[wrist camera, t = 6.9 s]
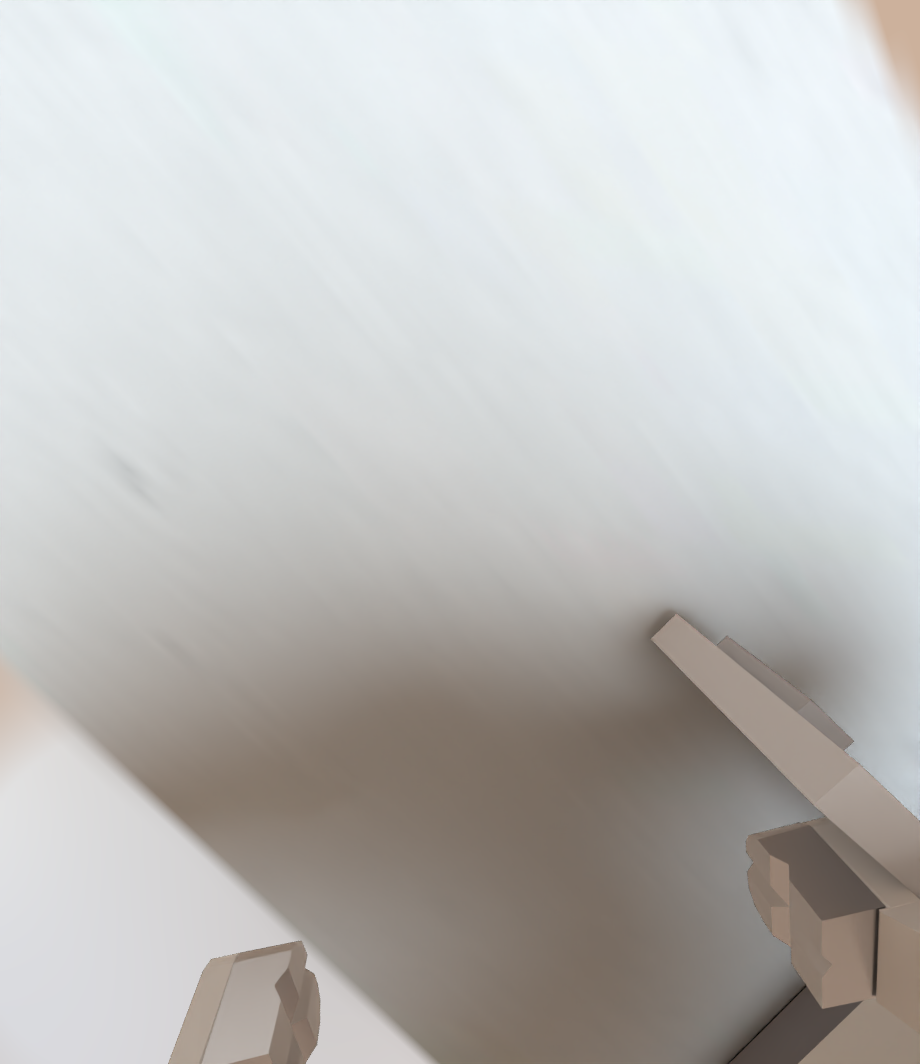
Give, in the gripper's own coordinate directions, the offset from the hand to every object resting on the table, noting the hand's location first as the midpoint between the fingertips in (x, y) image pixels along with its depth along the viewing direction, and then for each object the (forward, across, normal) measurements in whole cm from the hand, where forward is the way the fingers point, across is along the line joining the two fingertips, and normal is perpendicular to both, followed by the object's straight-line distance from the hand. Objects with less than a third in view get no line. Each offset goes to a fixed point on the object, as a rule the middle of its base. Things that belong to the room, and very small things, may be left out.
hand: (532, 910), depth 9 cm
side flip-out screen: (+3, -8, +1) cm, 8 cm away
